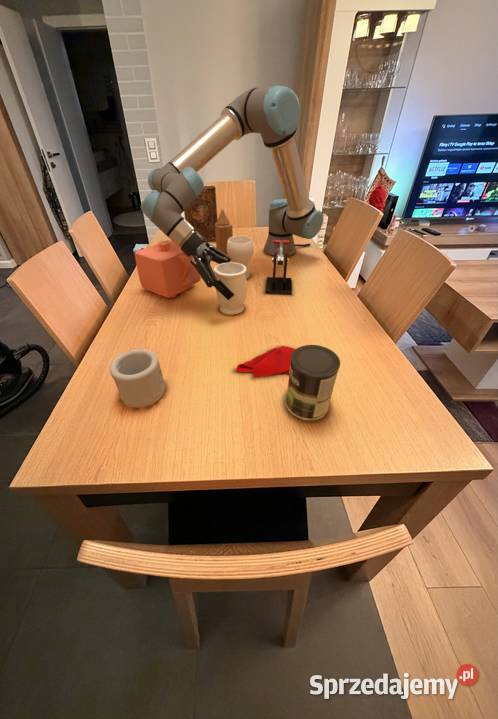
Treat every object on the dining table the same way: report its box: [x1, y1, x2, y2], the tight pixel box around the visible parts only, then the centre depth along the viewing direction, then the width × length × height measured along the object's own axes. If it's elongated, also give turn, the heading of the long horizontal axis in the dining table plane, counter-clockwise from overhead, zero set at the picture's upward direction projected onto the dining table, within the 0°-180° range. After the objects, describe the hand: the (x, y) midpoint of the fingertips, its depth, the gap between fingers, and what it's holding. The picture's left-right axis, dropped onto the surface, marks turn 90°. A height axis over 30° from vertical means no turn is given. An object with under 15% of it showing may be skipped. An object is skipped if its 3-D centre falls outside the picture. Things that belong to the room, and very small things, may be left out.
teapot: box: [134, 239, 201, 299], centre depth 114 cm, size 25×23×18 cm
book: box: [183, 185, 218, 244], centre depth 152 cm, size 16×6×25 cm, turn 102°
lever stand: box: [264, 253, 293, 296], centre depth 114 cm, size 12×10×13 cm
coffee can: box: [285, 344, 341, 422], centre depth 67 cm, size 10×10×14 cm
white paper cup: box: [213, 261, 248, 315], centre depth 101 cm, size 11×10×15 cm
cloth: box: [235, 345, 296, 378], centre depth 83 cm, size 26×14×2 cm, turn 84°
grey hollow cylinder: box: [109, 348, 166, 409], centre depth 73 cm, size 14×11×10 cm
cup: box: [226, 235, 254, 280], centre depth 121 cm, size 11×11×15 cm
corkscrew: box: [273, 240, 289, 266], centre depth 113 cm, size 11×6×2 cm, turn 175°
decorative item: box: [215, 207, 234, 255], centre depth 140 cm, size 7×7×20 cm
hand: (236, 287), depth 100 cm, fingers open, 13 cm apart
